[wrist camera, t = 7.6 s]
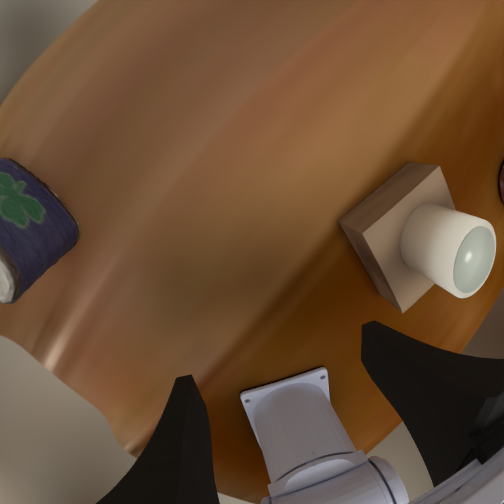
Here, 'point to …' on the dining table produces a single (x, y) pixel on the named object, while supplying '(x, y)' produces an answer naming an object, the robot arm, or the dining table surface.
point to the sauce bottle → (502, 183)
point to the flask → (30, 229)
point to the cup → (449, 248)
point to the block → (394, 230)
